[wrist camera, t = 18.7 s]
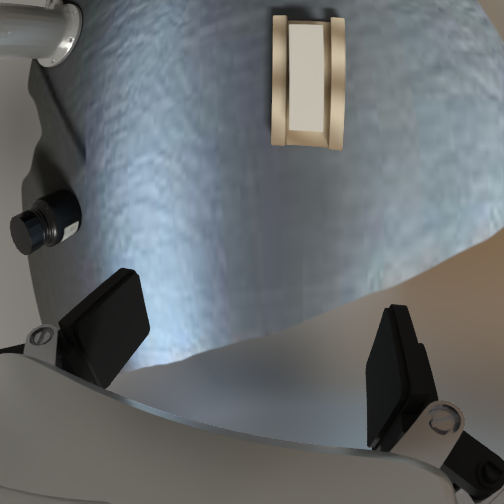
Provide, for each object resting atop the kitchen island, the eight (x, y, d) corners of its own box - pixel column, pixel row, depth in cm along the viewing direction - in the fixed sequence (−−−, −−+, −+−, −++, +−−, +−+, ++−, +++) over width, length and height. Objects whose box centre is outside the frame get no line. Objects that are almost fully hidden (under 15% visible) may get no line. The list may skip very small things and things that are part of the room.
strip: (293, 35, 28) (288, 24, 24) (323, 36, 27) (323, 25, 23) (293, 129, 33) (289, 130, 29) (323, 130, 32) (323, 132, 28)
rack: (276, 22, 28) (273, 15, 25) (343, 25, 26) (344, 18, 24) (275, 143, 35) (271, 144, 32) (340, 148, 33) (342, 150, 31)
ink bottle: (58, 233, 50) (15, 259, 40) (47, 191, 47) (1, 212, 36) (89, 232, 48) (42, 262, 37) (78, 185, 44) (27, 207, 34)
